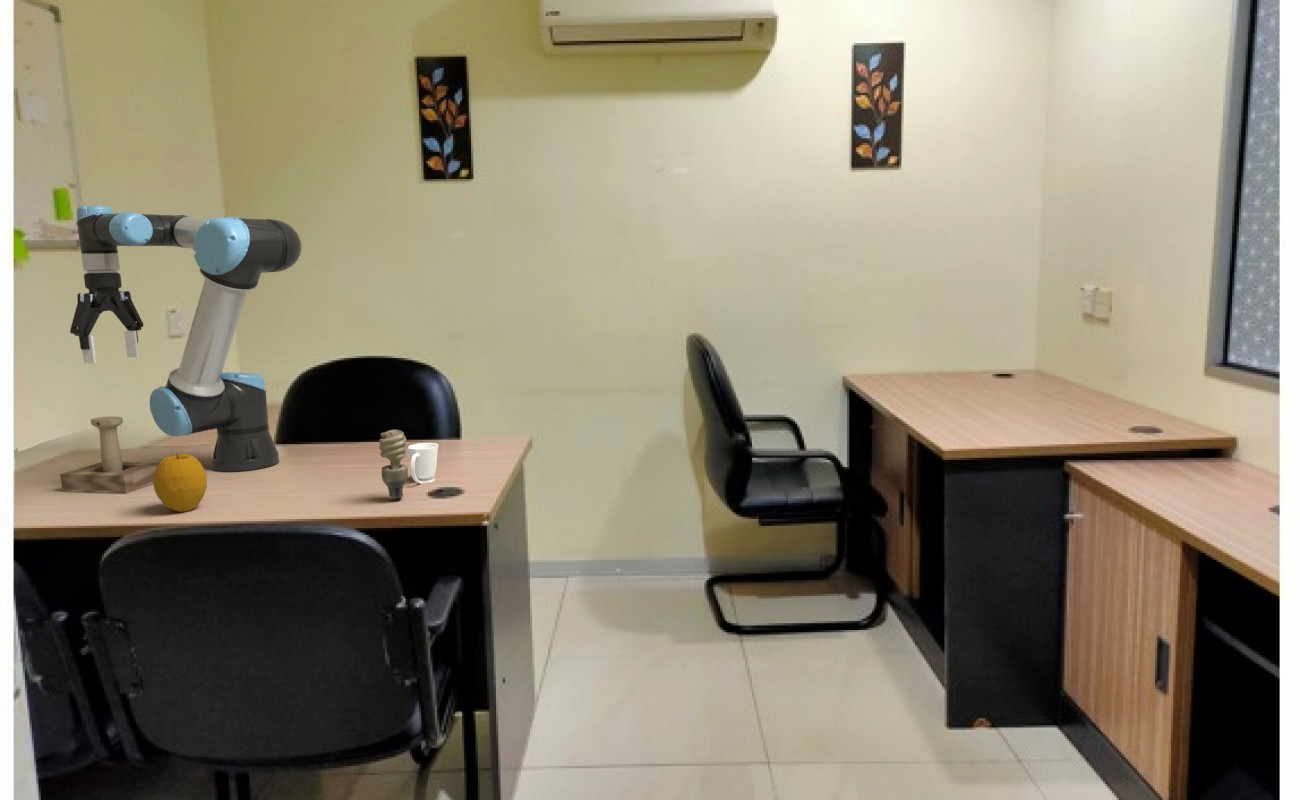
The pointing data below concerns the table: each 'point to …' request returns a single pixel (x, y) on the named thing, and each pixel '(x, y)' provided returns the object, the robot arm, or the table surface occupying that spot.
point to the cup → (423, 461)
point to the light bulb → (394, 462)
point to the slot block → (109, 478)
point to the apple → (180, 482)
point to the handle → (109, 443)
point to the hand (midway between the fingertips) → (112, 360)
